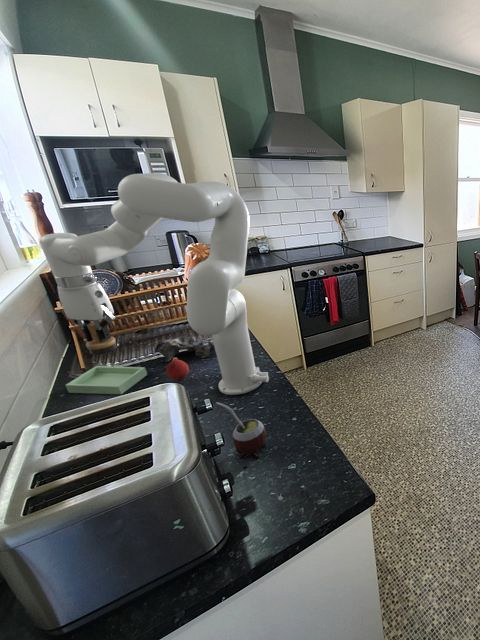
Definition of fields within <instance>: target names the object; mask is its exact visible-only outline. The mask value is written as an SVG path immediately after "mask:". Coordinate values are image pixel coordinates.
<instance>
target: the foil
mask: <svg viewBox="0 0 480 640" xmlns="http://www.w3.org/2000/svg"><path fill="white" fill-rule="evenodd" d="M213 347H214V343H213V338H212V339H211V340H209V341H208V343H205V341H203V340H202V339H200V338H197V339H196V340H194V338H192V336H191V335H189V336H188V337H185V336H183V335H180V336H178V337H175V338H172V339H166V340H163V341H161V342H158V343H157V345H156V346H155V348H154V352H155V353H157V354H161V355H162V356H163V357H164V358H165V359H164V363H169V362H171V361H172V360H173V358H174V356H175V355H177V354H179V353H180V351H181V350H187V351H188V352H192V351H194V354H195V356H200V357H205V358H206V357H207V358H208V357H210V353H211V349H212V348H213Z"/></svg>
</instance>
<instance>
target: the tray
mask: <svg viewBox="0 0 480 640" xmlns="http://www.w3.org/2000/svg"><path fill="white" fill-rule="evenodd" d="M146 376H148V372H147V368H146V367H145V366H143V367H142V366H115V365H114V366H113V365H112V366H110V365H95V366H94V367H92V368H91V369H89V370H87V371H86V372H84V373H82V374H81V375H79V376H78V377H75V378H74V379H73V380H71V381H69V382H67V383H66V384H64V386H65V388H66V390H67V392H68V393H69V394H96V395H98V394H100V395H123V394H124V393H125V392H126V391H128V390H129V389H131V388H132V387H133V386H134V385H136V384H137V383H138V382H140V381H141V380H143V379H144V378H145V377H146Z"/></svg>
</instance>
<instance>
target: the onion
mask: <svg viewBox="0 0 480 640" xmlns="http://www.w3.org/2000/svg"><path fill="white" fill-rule="evenodd" d="M189 367H190V366H189V365H188V363H187V362H185V361H183V360H181V359H178V357H172V359H171V360H170V361H169V362H168V364H167V366H166V369H165V373H166V376H167V377H168V378H170V379H171V380H175V381H183V379H184V378H185V377H187V375H188V374H189V372H190V368H189Z"/></svg>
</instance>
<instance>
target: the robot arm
mask: <svg viewBox="0 0 480 640" xmlns="http://www.w3.org/2000/svg"><path fill="white" fill-rule="evenodd" d="M117 195H118V196H117V197H118V200H117V201H115V202H114V203H112V205H111V207H110V212H111V215H112V217H113V219H114V220H115V221H114V222H113V223H112V224H111V225H109V226H107V228H105V229H103V230H100V231H99V230H98V231H95V232H90V233H85V234H82V235H77V234H75V233H72V232H54V233H47V234H44V235H42V236H40V237H39V244H40V247H41V250H42V252H43V254H44V256H45V259H46V261H47V263H48V266H49V268H50V271H51V273H52V276H53V277H54V280H55V282H56V285H57V286H56V287H57V293H58V298H59V302H60V305H61V307H62V310H63V312H64V314H65V318H66V320H68V321H71V322H73V323H74V324H76V325H77V326H78V328H79V329H80V330H82V331H83V334H84V336H85V338H86V342H91V341H93V339H92V336H91V334H90V331H89V329H88V326H87V325H88V324H90V323H93V322H94V324H95V326H96V328H97V330H96V333H97V336H98V338H99V341H100V342H105V341H106V340H108V339H110V338H111V336H112V335H111V332H110V330H109V326H110V324H111V323H112V322H113V321H116V319H117V317H116V316H114V314H115V310H114V307H113V305H112V302H111V301H110V298H109V296H108V293H107V292H106V291H105V289H104V287H103V286H102V285H101V283H100V282H97V281H98V278H97V277H96V276H95V275H94V272H93V271H92V266H96V265H99V264H102V263H106V262H109V261H111V260H114V259H117V258H121V257H123V256H125V255H126V254H128V253H129V252H131V251H132V250H133V249H135V248H137V246H139V244H141V243H142V242H143V241H144V240H145V238H146V237H147V234H148V233H149V230H151V228H153V227H154V226H155V225H156V224H158V222H160V221H161V220H163V219H168V220H175V221H181V222H187V223H188V222H189V223H200V222H201V223H202V222H205V221H209V220H213V219H214V224H213V228H212V230H211V234H210V247H209V254H208V257H207V258H206V259H205V260H202V261H200V262H198V263H197V264H195V265H194V266H193V268H192V269H191V270H190V272H189V275H188V277H187V284H186V285H187V286H186V287H187V289H186V320H187V322H188V324H189V326H190V328H191V329H192V330H193V331H194V332H195V333H197V334H199V335H201V336H204V337H205V336H206V337H209V336H211V338H212V339H213V343H214V345H213V347H214V351H215V355H216V358H217V362H218V366H219V370H220V374H221V380H219V381H218V390H219V392H221V393H222V394H224V395H227V396H237V395H243V394H247V393H250V392H252V391H254V390H256V389H257V388H259V386H261V385H262V383H268V382H269V380H270V376H269V372H268V371H263V372H262V371H261V370H260V367H259V366H256V363H255V358H254V353H253V348H252V344H251V339H250V338H251V337H250V331H249V326H248V315H247V314H248V310H247V303H246V299H245V297H244V296H243V294H242V293H241V292H240V291H239V290H237V289H236V288H237V287H238V286H239V285H241V283H242V282H243V281H244V279H245V275H246V265H247V254H248V242H249V234H250V233H249V232H250V214H249V209H248V207H247V204H246V202H245V200H244V199H243V198H242V196H241V195H240V194H239V193H238V192H237V191H236V190H235V189H234V188H232V187H231V186H229V185H227V184H225V183H223V182H219V181H211V180H209V181H201V182H199V181H198V182H192V183H191V182H190V183H185V182H184V183H183V182H178V181H177V180H176V179H175V178H174V177H172V176H170V175H168V174H165V173H161V172H160V173H159V172H149V173H148V172H147V173H133V174H129V175H126V176H125V177H123V178H122V179H121V180H120V181H119V183H118V185H117ZM100 321H101V322H100Z"/></svg>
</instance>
